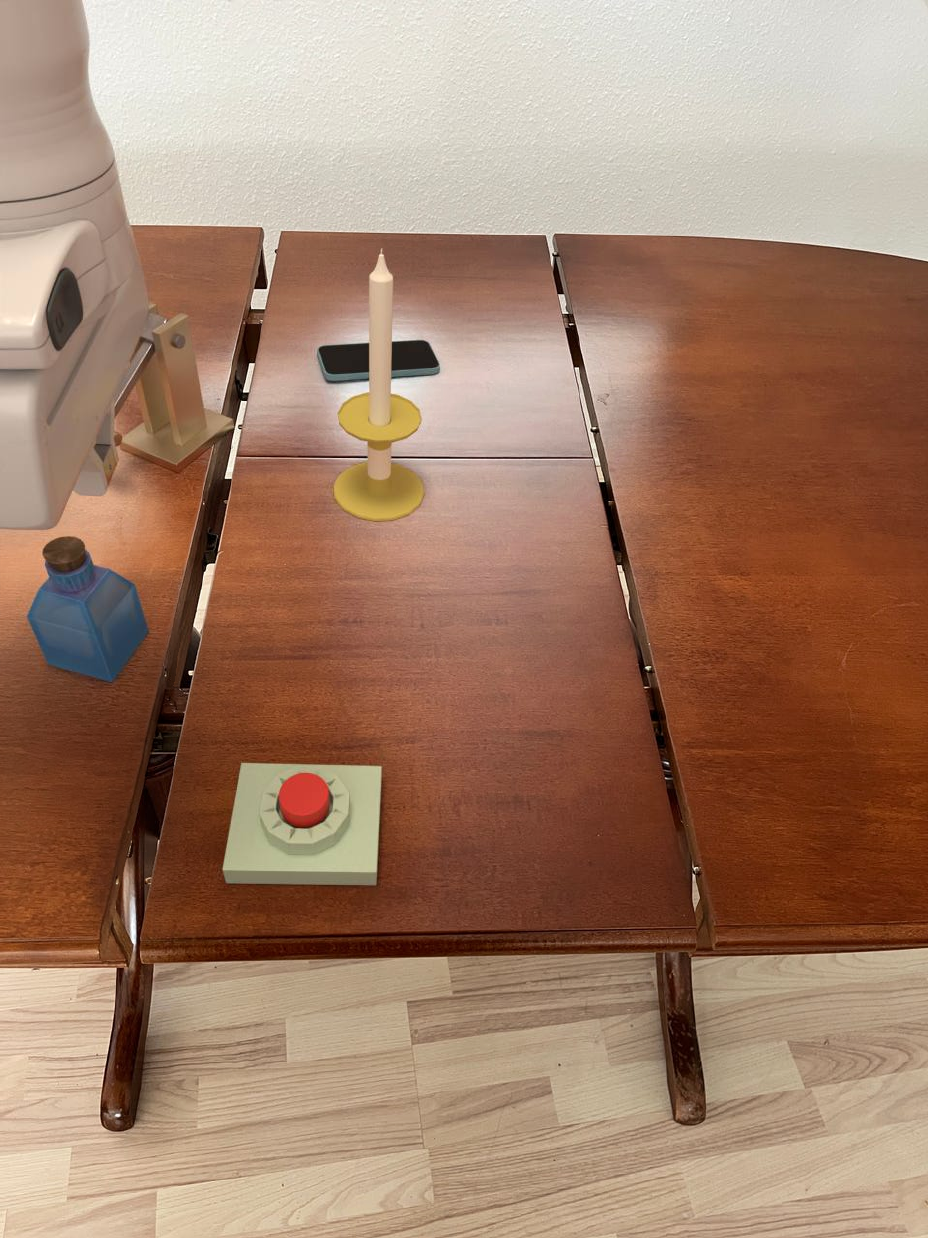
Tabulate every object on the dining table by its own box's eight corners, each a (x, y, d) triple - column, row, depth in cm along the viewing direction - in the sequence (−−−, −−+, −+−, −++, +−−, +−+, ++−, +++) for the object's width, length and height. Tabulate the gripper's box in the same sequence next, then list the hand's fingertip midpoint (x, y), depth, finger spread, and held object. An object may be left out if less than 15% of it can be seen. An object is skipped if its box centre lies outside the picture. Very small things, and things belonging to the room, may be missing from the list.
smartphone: (442, 368, 110) (325, 375, 106) (441, 375, 111) (326, 383, 107) (427, 338, 115) (315, 345, 110) (427, 346, 115) (315, 352, 111)
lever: (120, 451, 86) (107, 440, 84) (81, 435, 87) (67, 423, 85) (189, 336, 89) (178, 322, 86) (150, 322, 90) (139, 307, 88)
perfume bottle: (47, 664, 75) (4, 566, 66) (87, 614, 79) (51, 516, 70) (112, 682, 74) (77, 585, 65) (148, 631, 78) (120, 534, 69)
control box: (225, 883, 63) (218, 858, 60) (244, 777, 69) (238, 749, 66) (376, 885, 64) (376, 861, 61) (381, 780, 70) (382, 753, 67)
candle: (347, 529, 90) (341, 281, 70) (322, 471, 96) (309, 228, 76) (437, 511, 93) (456, 269, 73) (407, 456, 99) (416, 219, 79)
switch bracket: (178, 473, 93) (152, 350, 82) (120, 448, 95) (87, 326, 84) (234, 427, 100) (217, 308, 89) (179, 405, 102) (155, 286, 91)
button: (277, 827, 62) (275, 815, 61) (283, 784, 65) (281, 771, 63) (327, 828, 62) (326, 816, 61) (331, 785, 65) (330, 772, 64)
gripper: (24, 137, 44) (89, 373, 54) (-159, 346, 31) (-26, 609, 41) (149, 147, 45) (191, 379, 55) (24, 356, 31) (110, 614, 41)
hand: (98, 479), depth 48 cm, fingers closed
